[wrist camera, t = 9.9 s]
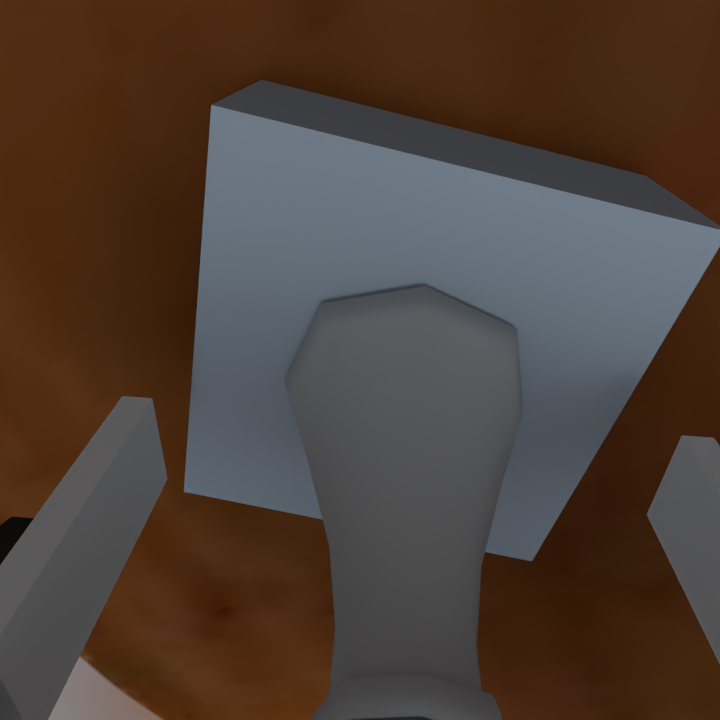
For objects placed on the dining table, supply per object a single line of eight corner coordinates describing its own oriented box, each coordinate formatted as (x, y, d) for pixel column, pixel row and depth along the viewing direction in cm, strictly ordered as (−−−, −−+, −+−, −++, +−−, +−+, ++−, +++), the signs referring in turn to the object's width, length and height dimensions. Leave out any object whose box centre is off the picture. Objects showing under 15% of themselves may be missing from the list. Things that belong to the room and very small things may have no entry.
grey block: (505, 453, 26) (531, 561, 21) (227, 393, 25) (183, 491, 20) (641, 172, 19) (728, 232, 14) (264, 78, 18) (211, 105, 13)
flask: (281, 463, 19) (186, 826, 11) (291, 264, 15) (154, 588, 7) (493, 489, 19) (566, 873, 11) (556, 299, 15) (751, 662, 7)
